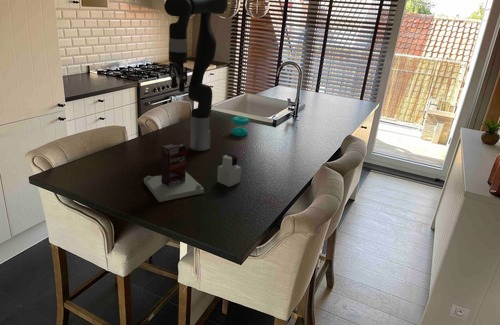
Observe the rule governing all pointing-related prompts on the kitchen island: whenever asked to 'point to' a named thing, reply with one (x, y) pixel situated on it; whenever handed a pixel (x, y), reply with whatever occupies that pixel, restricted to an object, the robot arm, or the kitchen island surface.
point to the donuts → (239, 130)
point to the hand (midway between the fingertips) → (177, 89)
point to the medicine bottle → (229, 171)
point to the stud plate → (173, 188)
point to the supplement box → (173, 164)
